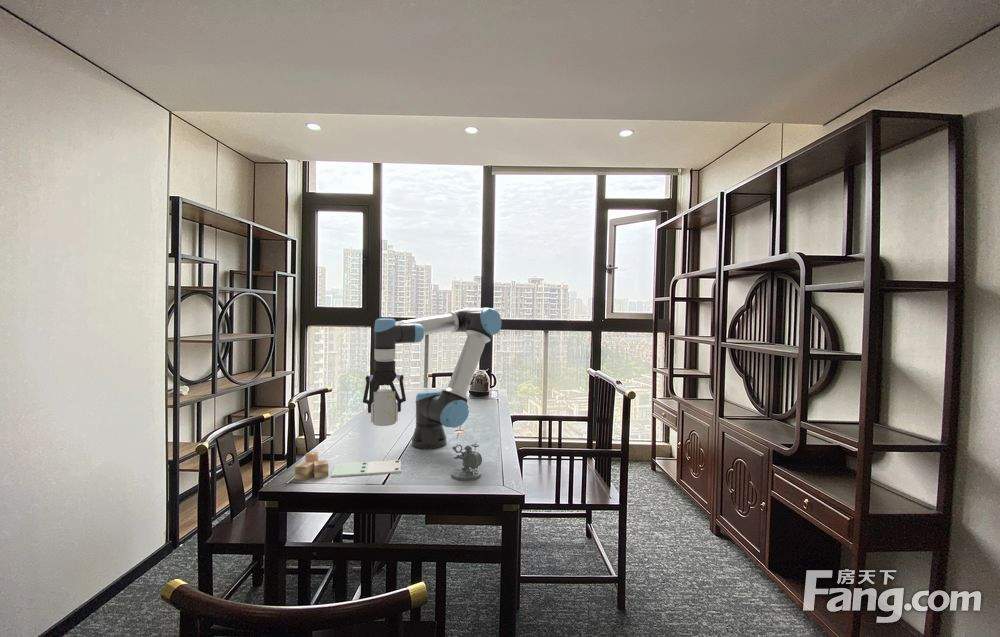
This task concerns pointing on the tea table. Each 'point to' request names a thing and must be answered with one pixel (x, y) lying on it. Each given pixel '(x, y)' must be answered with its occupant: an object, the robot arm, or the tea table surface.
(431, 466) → the tea table surface
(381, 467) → the pad two
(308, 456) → the terracotta cylinder
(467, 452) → the figurine
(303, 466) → the oak block
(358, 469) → the pad three
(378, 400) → the cup
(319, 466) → the oak block
